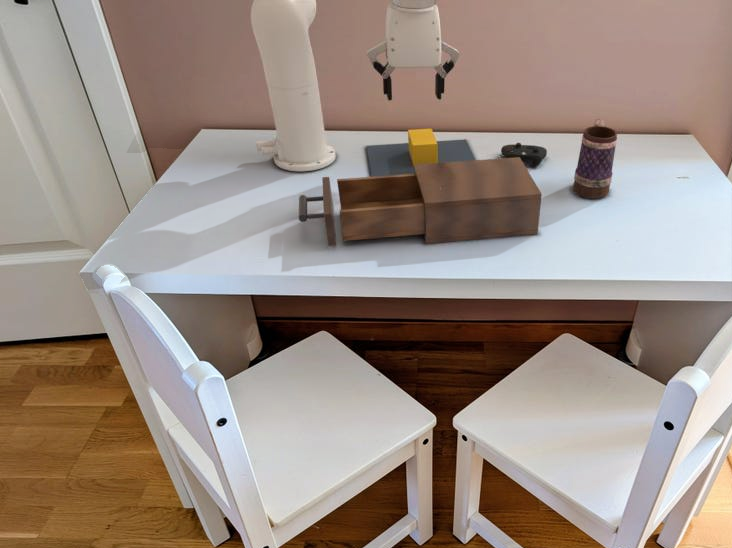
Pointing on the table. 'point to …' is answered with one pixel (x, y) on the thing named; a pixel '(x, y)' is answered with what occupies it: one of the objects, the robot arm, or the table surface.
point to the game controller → (525, 153)
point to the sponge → (422, 146)
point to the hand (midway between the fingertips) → (413, 97)
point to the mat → (399, 160)
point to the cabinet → (478, 199)
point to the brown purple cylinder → (595, 161)
